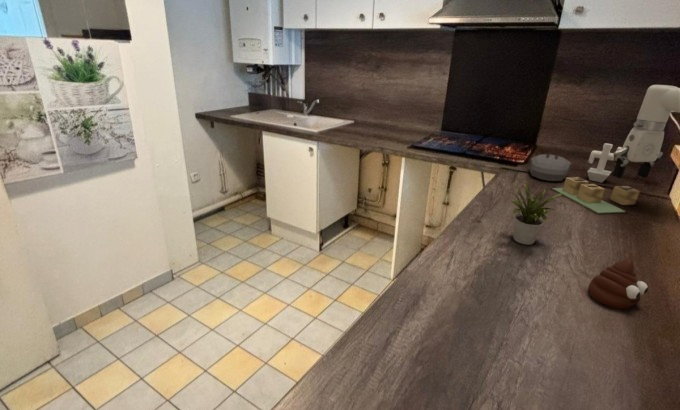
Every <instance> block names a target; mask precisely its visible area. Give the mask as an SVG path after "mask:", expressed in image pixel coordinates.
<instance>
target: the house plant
mask: <svg viewBox="0 0 680 410" xmlns="http://www.w3.org/2000/svg"><path fill="white" fill-rule="evenodd" d="M508 182H510V183H511V184H512V185H514V186H515V187H516V189H517V190H518V191H517V190H516V191H515V190H514V192H516V193H517V194H518V195H519V196H520V198H521V200H522V202H521V200H520V199H519V197H518V195H516V194H515V193H513V190H511V189H510V190H509V189H508V191H509V192H511V191H512V192H511V194H513V195H514V196H515V197H516V199H513V200H510V202H511V203H512V204H513V205H515V206H517V207H518V208H514V209H513V211H512V213H511V215H513V214H516V213H517V214H516V215H514V217H513V240H514V241H515V242H517V243H519V244H522V245H529V246H530V245H533V244H535V241H536V240H537V238H538V236H539V234H540V232H541V229H542V228H543V225H544V224H545V222H546V221H547V218H548V217H547V215H546V214H549V213H555V209H554V208H551V207H544V206H546V205H547V204H548V203H550V202H551V201H552V202H553V201H556V200H555V199H556V198H557V197H560V196H564V195H563V194H560V193H557V194H555V195H552V196H550V197H549V198H547V199H545V200H544V201H543V202H542V203H541V201H542V200H543V198H544V197H545V194H546V191H547V190H546V188H547V187H546V188H544V189H543V191H542V192H541V193H539V194H537V193H538V192H539V190H540V188H541V187H542V186H543V185H544V184H543V183H542V184H541V185H540V186H539V187H538V188H537V190H536V192H535V193H534V196H533V199H532V198H531V197H532V195H531V192H530V187H529V185H528V184H527V183H526V182H524V184H523V188H524V190H525V191H524V192H525V195H526V199H525V198H524V196H523V193H522V192H521V189H520V188H519V185H517V184H516V183H514V182H512V181H511V180H508ZM539 195H540V196H539ZM538 197H539V198H538ZM522 203H523V205H524V206H523V205H522ZM507 207H510V205H507ZM520 212H521V213H520Z"/></svg>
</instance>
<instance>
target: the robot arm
mask: <svg viewBox="0 0 680 410" xmlns="http://www.w3.org/2000/svg"><path fill="white" fill-rule="evenodd" d="M672 112H675V113H679V114H680V87H678V86H674V85H669V84H652V85H650V86H649V87H648V88H647V89H646V92H645V95H644V97H643V101H642V103H641V105H640V108H639V111H638V114H637V117H636V119H635V122H634V123H633V127H632V128H631V129H630V131H629V133H628V135H627V137H626V139H625V140H624V142H623V145H622V146H621V147H622V149H620V150H618V151H614V152H613V153H614V161H613V162H614V165H615V166H614V169H613V171H612V174H611V175H612V177H615V178H617V179H622V178H623V176H624V173H625V170H626V165H627V164H629V162H631V163H641V164H640V167H639V169H638V171H637V176H639V177H641V178H645V179H647V178H648V176H649V175H650V172H651V169H652V167H654V166H655V164H656V163H657V162H659V159H660V158H662V156H663V155H664V152H662V151H661V150H662V149H661V148H662V146H663V142H664V138H665V127H666V125H667V123H668V120H669V117H670V115H671V113H672Z"/></svg>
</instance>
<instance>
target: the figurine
mask: <svg viewBox="0 0 680 410" xmlns="http://www.w3.org/2000/svg"><path fill="white" fill-rule="evenodd" d="M613 146H614V144H612V143H603V146H602V151H601V150H592V151H591V152H590V155H589V157H588V161H587V163H588V164H593V163H594V160H595V159H599V160H598V162H597V165H596V166H597V167H590V168H589V169H587V177H588V180H589V181H592V182H598V183H601V184H602V183H604V181H605V180H607V178H608V177H609V176H610V175H611V173H612V171H611V170H605V167H606V165H607V162H608V161H612V162H615V161H614V152H611V150H612V148H613ZM622 147H623V146H618V147H617V148H616V151H618V150H620V149H622ZM616 151H615V152H616Z"/></svg>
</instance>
